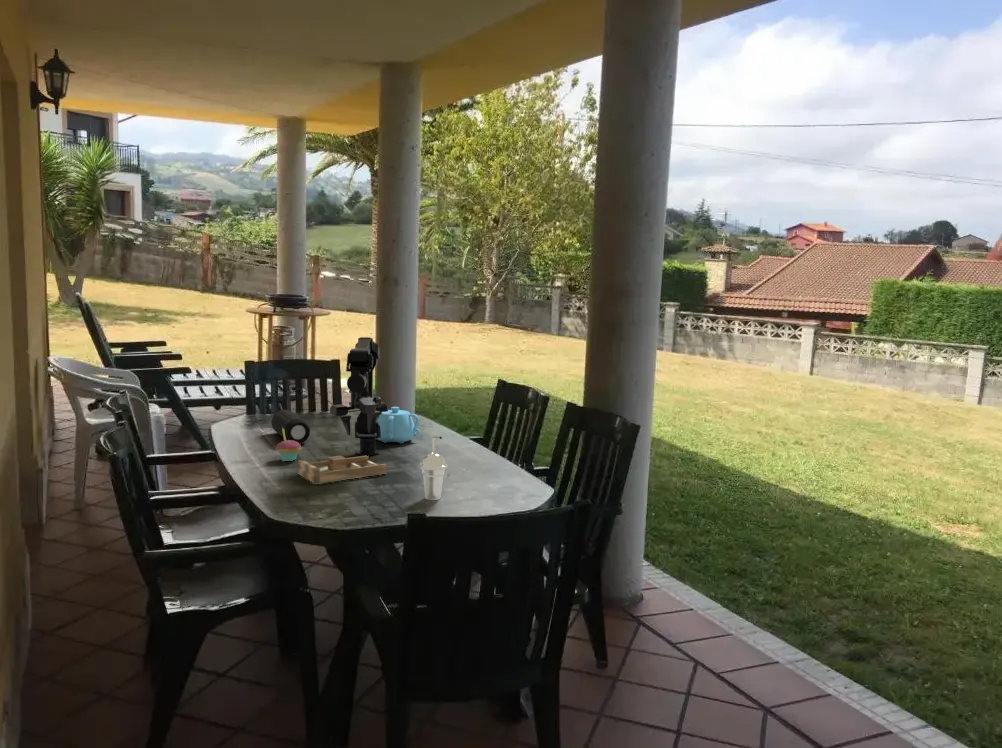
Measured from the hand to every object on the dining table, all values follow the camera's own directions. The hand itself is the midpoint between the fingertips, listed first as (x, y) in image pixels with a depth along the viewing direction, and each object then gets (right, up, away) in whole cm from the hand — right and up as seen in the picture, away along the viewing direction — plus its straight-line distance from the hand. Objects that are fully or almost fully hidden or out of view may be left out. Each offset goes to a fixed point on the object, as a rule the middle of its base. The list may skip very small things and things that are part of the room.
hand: (359, 433), depth 266 cm
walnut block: (-7, -12, -3) cm, 14 cm away
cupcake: (-28, -11, +15) cm, 33 cm away
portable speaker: (-36, -6, +49) cm, 61 cm away
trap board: (-5, -13, -2) cm, 15 cm away
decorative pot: (+5, -7, +50) cm, 51 cm away
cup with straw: (+27, -18, -25) cm, 41 cm away
